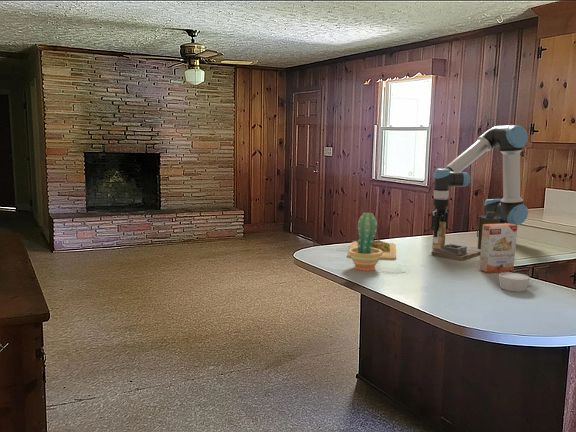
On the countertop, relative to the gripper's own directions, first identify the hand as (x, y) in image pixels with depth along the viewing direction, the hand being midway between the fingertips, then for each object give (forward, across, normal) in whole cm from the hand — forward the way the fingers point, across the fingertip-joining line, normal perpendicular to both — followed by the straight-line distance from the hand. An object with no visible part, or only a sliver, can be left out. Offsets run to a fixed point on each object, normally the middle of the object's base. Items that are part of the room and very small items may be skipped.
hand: (438, 242), depth 282 cm
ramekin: (+3, +43, +60) cm, 74 cm away
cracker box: (+3, +22, +43) cm, 48 cm away
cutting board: (+4, +32, -19) cm, 37 cm away
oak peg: (+3, 0, 0) cm, 3 cm away
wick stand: (+3, +4, +14) cm, 15 cm away
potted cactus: (+3, +62, +1) cm, 62 cm away
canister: (+3, -16, +19) cm, 25 cm away
